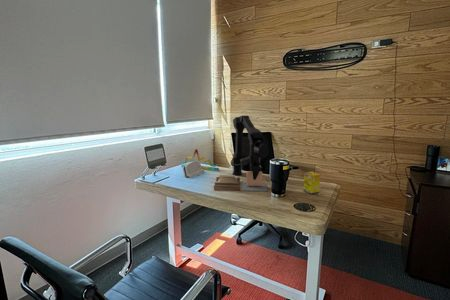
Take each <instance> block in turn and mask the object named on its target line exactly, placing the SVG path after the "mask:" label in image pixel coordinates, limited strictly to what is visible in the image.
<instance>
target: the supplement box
mask: <svg viewBox="0 0 450 300" xmlns="http://www.w3.org/2000/svg"><path fill="white" fill-rule="evenodd" d="M303 175H304V176H303V192H305V193H307V194H309V195H315V194H319V193H320V182H321V174H320V173H317V172H315V171H307V172H304V174H303Z"/></svg>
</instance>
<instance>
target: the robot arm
mask: <svg viewBox="0 0 450 300" xmlns="http://www.w3.org/2000/svg"><path fill="white" fill-rule="evenodd" d="M232 124H233V127H234V130H235V151H234V153H233V154H232V158H231V160H230V166H231V167H233V169H232V175H235V176H243V169H242V168H243V167H245V166H246V165H249V171H252V172H253V178H254V180H256V178H257V176H258V174H259V172H260V171H262V169H263V168H262V165H261V157H262V158H263V157H266V156H267V155H268V153H269V149H268V147H266V140H265V137H264V135H263V133H262V132H261V129H259V128H257V127H255V125H254V123H253V122H252V120H251V119H250V116H249V115H240V116H238V117H237V116H236V117H234V118H233V119H232ZM244 130H246V131H247V134H248V135H247V138H248V141H249V143H248V144H249V147H250V148H249V154H248V155H249V156H245V154H244V152H243V146H244V145H243V140H244ZM262 172H263V171H262Z"/></svg>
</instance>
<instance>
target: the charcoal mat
mask: <svg viewBox="0 0 450 300" xmlns="http://www.w3.org/2000/svg"><path fill="white" fill-rule="evenodd" d="M241 186H242V191H243V192H268V191H269V190H268V188H267V184H266V182H264V181H262V186H247V181H245V182H244V181H242V185H241Z"/></svg>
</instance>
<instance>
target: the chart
mask: <svg viewBox="0 0 450 300" xmlns="http://www.w3.org/2000/svg"><path fill="white" fill-rule="evenodd" d="M199 154H200V153H199V150H198V149H197V148H196V149H195V150H194V153H193V155H192V156H186V158H185V160H184V161H180V162H181V168H183V166H184V165H186V164H187V163H188V162H187V161H189V160H188V159H192V158H195V156H197V160H198V162H200V161H201V160H202V161H203V162H204V163H206V162H208V164H209V165H210V166H202V165H201V167H202V169H203V170H204V171H211V172H212V171H213V172H218V171H219V170H220V168H219V167H217V166H219V164H216V165H214V164H213V163H212V161H211V160H210V159H207V160H206V159H205V157H200V155H199Z"/></svg>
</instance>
